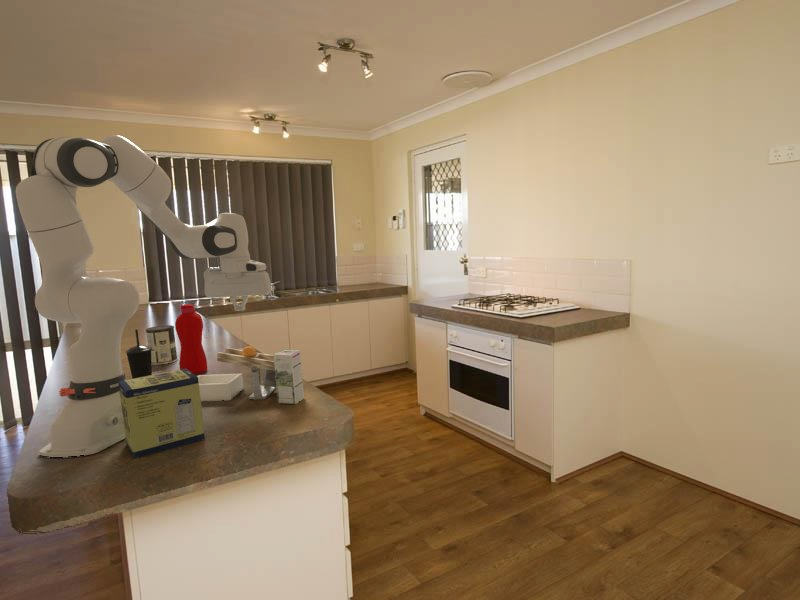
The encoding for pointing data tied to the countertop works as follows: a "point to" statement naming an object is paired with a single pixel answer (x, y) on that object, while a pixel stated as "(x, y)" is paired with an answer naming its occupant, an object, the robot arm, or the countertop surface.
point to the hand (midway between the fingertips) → (240, 310)
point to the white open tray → (220, 386)
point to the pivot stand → (259, 390)
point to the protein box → (161, 411)
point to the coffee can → (162, 344)
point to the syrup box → (288, 376)
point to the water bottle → (191, 340)
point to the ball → (249, 351)
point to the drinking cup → (139, 359)
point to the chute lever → (251, 362)
